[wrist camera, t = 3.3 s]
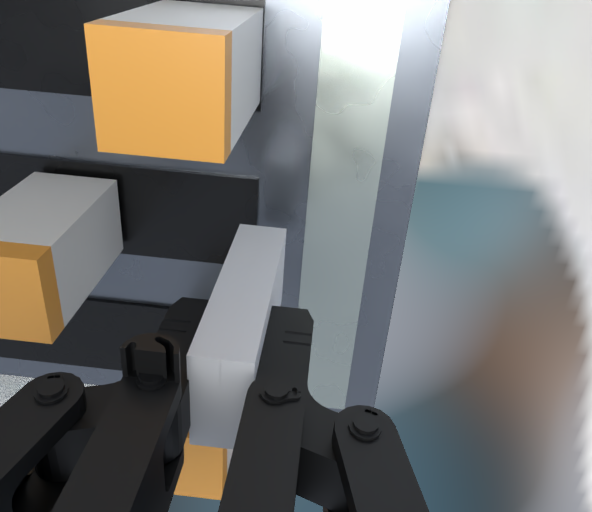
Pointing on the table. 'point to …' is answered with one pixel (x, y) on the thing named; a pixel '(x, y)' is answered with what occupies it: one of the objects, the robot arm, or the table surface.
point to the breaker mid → (54, 250)
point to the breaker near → (175, 78)
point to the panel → (240, 177)
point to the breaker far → (203, 471)
